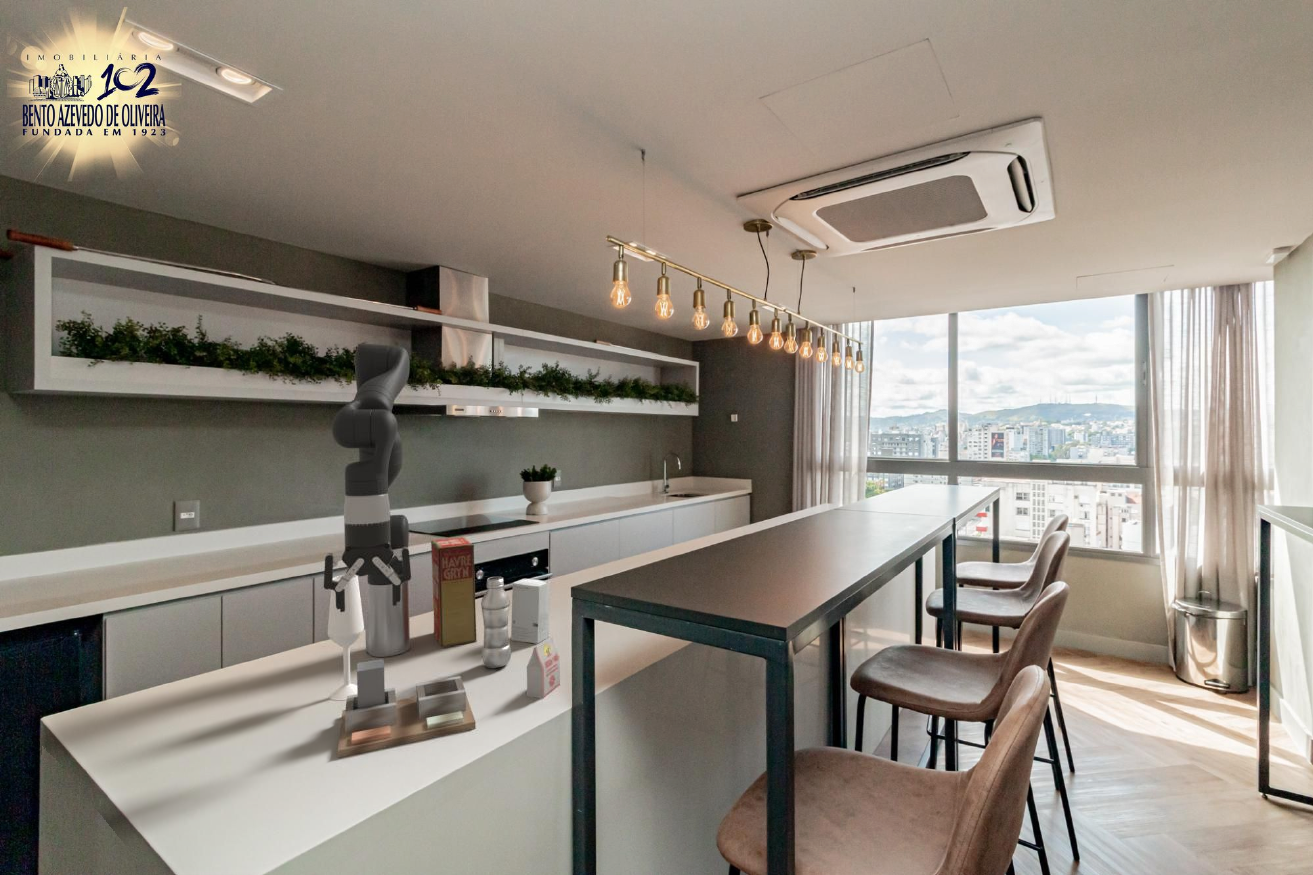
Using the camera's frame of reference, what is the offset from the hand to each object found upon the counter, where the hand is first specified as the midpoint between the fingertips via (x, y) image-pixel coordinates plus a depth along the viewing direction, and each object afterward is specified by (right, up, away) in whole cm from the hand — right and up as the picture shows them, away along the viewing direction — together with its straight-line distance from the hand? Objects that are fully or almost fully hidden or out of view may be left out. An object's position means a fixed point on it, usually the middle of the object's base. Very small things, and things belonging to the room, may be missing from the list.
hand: (369, 607), depth 110 cm
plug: (0, -21, 0) cm, 21 cm away
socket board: (+6, -22, +2) cm, 23 cm away
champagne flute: (-11, -22, +14) cm, 29 cm away
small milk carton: (+29, -21, +15) cm, 39 cm away
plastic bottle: (+16, -21, +28) cm, 39 cm away
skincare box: (+20, -21, +45) cm, 54 cm away
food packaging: (0, -21, +48) cm, 52 cm away
